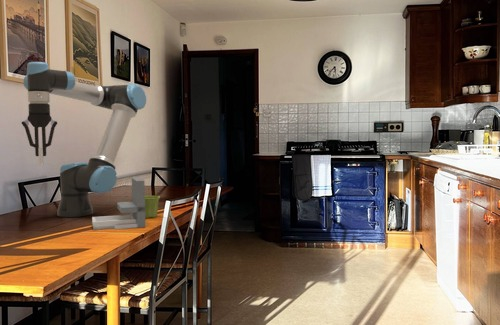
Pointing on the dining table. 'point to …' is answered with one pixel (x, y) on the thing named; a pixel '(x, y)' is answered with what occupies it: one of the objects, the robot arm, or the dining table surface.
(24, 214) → the dining table surface
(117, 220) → the white rectangular slab
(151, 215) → the plant pot
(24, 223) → the dining table surface
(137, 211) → the stand
